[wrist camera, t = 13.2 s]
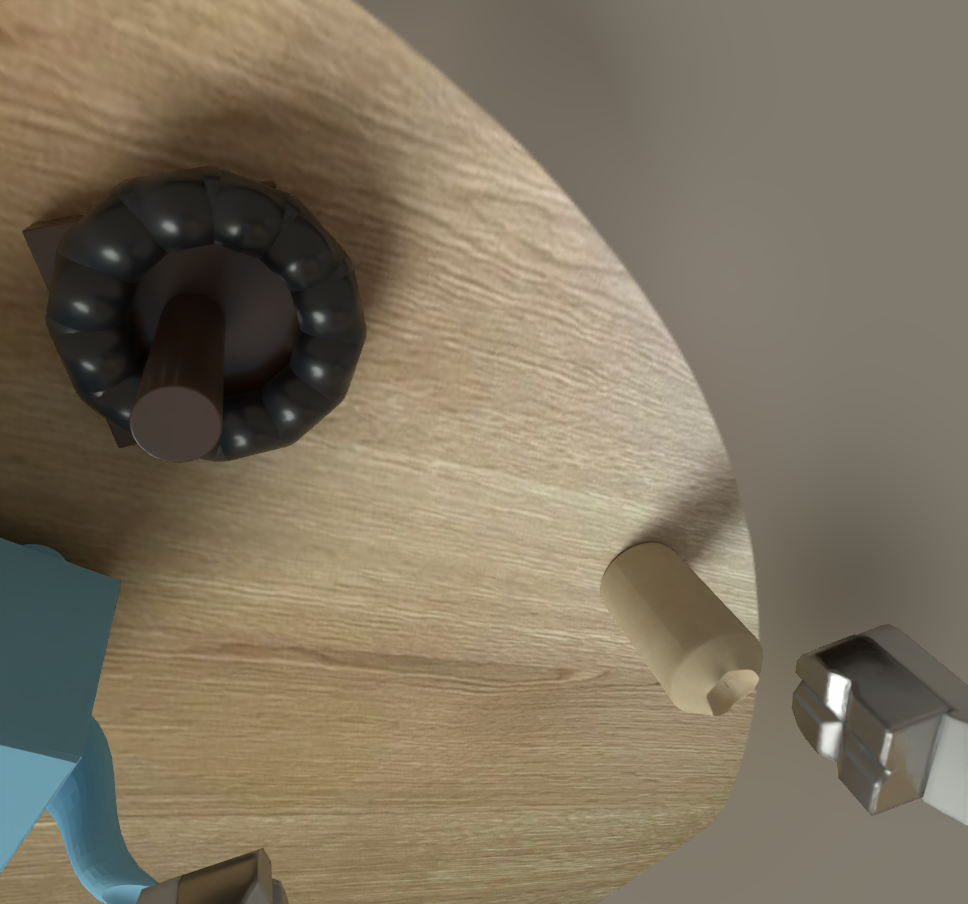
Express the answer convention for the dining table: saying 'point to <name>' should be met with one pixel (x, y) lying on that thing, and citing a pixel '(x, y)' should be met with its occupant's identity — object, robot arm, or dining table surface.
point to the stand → (194, 339)
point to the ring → (189, 224)
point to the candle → (681, 630)
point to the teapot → (59, 716)
